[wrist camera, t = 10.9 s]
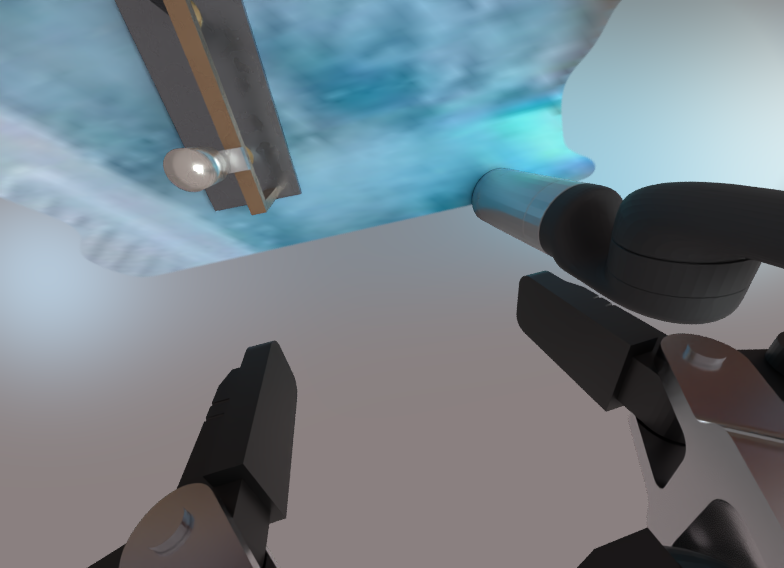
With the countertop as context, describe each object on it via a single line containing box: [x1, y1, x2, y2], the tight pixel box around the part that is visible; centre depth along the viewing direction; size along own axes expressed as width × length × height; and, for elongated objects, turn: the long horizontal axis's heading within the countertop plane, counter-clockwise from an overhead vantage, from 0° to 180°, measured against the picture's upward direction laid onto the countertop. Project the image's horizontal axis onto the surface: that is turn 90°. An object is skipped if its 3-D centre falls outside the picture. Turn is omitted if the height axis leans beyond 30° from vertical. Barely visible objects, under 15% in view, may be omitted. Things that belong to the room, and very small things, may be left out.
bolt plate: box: [115, 0, 302, 215], centre depth 30 cm, size 12×22×12 cm, turn 9°
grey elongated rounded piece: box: [163, 146, 251, 192], centre depth 29 cm, size 5×3×17 cm
